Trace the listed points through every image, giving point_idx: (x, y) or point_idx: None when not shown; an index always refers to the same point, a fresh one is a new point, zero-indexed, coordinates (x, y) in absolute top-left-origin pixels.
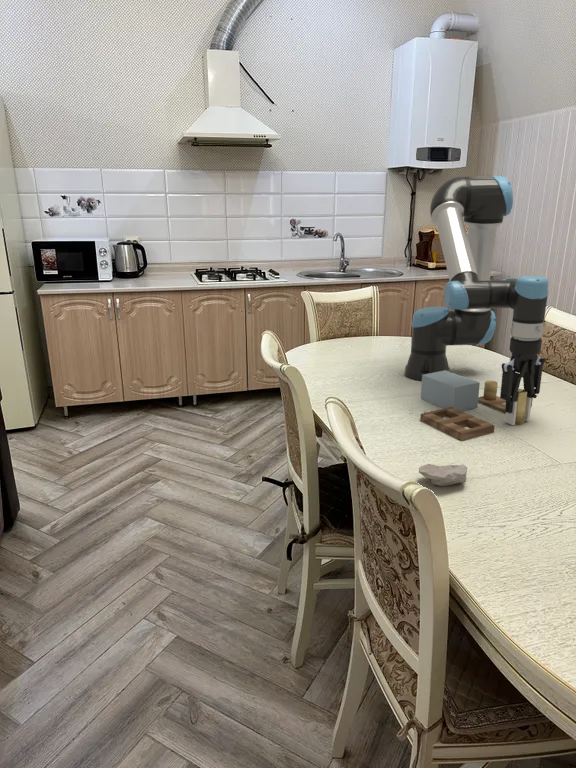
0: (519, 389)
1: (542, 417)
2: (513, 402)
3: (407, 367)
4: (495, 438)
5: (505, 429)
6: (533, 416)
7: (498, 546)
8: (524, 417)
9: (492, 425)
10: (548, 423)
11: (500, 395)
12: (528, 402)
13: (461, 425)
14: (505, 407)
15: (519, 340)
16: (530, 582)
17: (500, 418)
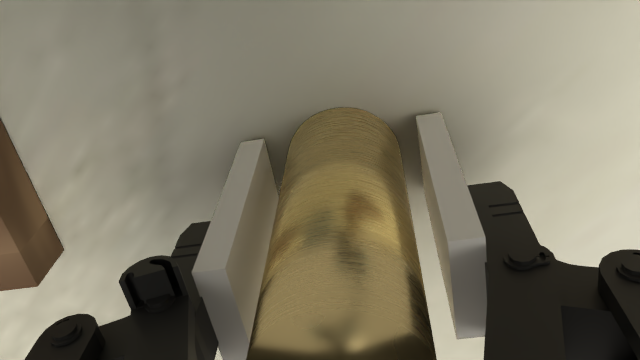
0: (376, 344)
1: (632, 147)
2: (218, 339)
3: None
4: (33, 318)
5: (173, 235)
6: (585, 102)
7: None
8: (423, 177)
9: (19, 284)
10: (555, 253)
11: (31, 354)
12: (448, 294)
13: None
14: (173, 252)
15: None
16: None
17: (269, 39)
